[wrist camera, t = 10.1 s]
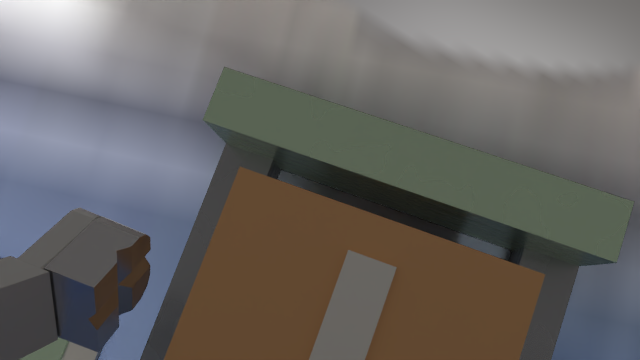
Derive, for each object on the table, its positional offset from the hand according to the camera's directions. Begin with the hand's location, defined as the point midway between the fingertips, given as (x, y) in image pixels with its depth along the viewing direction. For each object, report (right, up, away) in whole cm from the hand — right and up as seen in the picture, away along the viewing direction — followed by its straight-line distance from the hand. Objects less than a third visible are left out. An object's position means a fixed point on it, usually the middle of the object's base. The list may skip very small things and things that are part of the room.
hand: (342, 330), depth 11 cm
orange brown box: (+1, -1, +7) cm, 7 cm away
